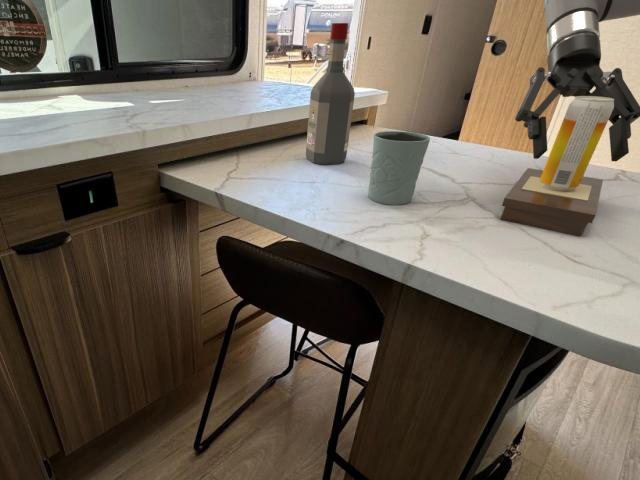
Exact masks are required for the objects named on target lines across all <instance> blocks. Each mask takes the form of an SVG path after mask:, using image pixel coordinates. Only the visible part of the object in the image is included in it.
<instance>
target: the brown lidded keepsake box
mask: <svg viewBox="0 0 640 480" xmlns="http://www.w3.org/2000/svg"><path fill="white" fill-rule="evenodd" d="M543 170H544V169H536V168H529V167H527V168H526V169H525V171H524V172H523V173H522V174H521V176H520V177H519V179H518V180H517V181H516V182H515V184H514V185H513V186H512V187H511V189H510V190H509V191H508V193H507V194H506V195H505V197H504V198H503V201H502V203H501V207H504V209H503V210H502V214H501V216H500V220H504V221H507V222H511V223H518V224H522V225H526V226H531V227H535V228H541V229H545V230H548V231H549V230H550V231H554V232H558V233H563V234H568V235H573V236H578V237H582V235H583V233H584V231H585V229H586V227H587V226H588V224H593V222H594V220H595V217H596V215H597V210H598V207H599V200H600V197H601V192H602V187H603V182H604V179H602V178H596V177H590V176H584V175H583V177H582V180H581V182H580V184H579V186H578V187H576V188H574V189H573V190H572V191H556V190H551V189H547V188H545V187H543V186H541V182H540V178H541V175H542V173H543Z"/></svg>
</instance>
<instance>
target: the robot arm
mask: <svg viewBox="0 0 640 480" xmlns="http://www.w3.org/2000/svg"><path fill="white" fill-rule="evenodd" d="M543 12H544V19H545V32H546V51H547V52H546V53H547V61H546V62H547V71H546V69H545V68H544V67H542V66H540V67H538V68H537V69H536V70H535V72H534V73H533V74H532V76H530V78H529V88H528V90H527V92H526V94H525V96H524V99H523V100H522V103H521V105H520V106H519V109H518V111H517V113H516V115H515V118H514V120H515V121H516V122H518V123H519V122H524V123H523V127H524V128H526V129H527V138H528V140H532V153H533V159H534V160H535V159H536V160H539V159H540V158H541V157H542V156H543V155H544V154H545V153H546V152H547V151H548V133H547V131H548V129H547V116H541V115H542V114H543V113H544V112H545V111H546V109H548V107H549V106H550V105H551V104H552V103H553V101H555V99H556V98H557V97H558V96H559V95H560V96H562V98H569V97H574V98H575V97H576V96H597V97H607V98H612V99H614V109H613V111H612V113H611V115H610V117H609V120H608V122H610V123H611V124H612V125H611V126H609V127H608V132H609V134H608V135H609V146H610V158H611V159H610V160H611V162H618V161H619V160H621V159H622V158H623V157H625V156H626V155H628V154H630V149H629V139H630V138H631V137H632V127H631V125H632V123H634V122H635V121H636V120H638V119H639V118H640V104H639V102H638V101H637V99H636V98H635V96H634V94H633V93H632V91H631V90H630V88H629V87H628V85H627V83H626V82H625V80H624V78H623V76H624V75H623V71H622V69H621V68H620V67H616V68H614V69H613V70H612V71H603V69H602V68H601V66H600V65H601V61H602V60H601V59H602V48H601V40H600V38H601V32H600V23H601V22H606V21H612V20H618V19H624V18H625V19H626V18H630V17H635V16H640V0H544V7H543ZM546 81H547V83H548V84H549V85H550V86H551V87H552V88H553V89H552V90H551V92H550V93H549V94H548V95H547V96H546V97H545V99H543V101H542V102H541V103H540V104H539V105H538V107H537V108H535V110H534V111H533V110H531V109H532V107H533V106H534V104H535V101H536V99H537V97H538V94H539V93H540V90H541V88H542V86H543V85H544V84H545V82H546ZM594 88H595V89H594ZM592 90H593V91H592ZM591 91H592V92H591Z"/></svg>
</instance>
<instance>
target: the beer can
mask: <svg viewBox="0 0 640 480" xmlns="http://www.w3.org/2000/svg"><path fill="white" fill-rule="evenodd" d="M613 109H614V99H612V98H607V97H597V96H576V97H574V98H573V100H572V101H571V102H570V103H569V104H568V107H567V109H566V112H565V114H564V117H563V120H562V121H561V125H560V127H559V130H558V131H557V134H556V137H555V140H554V142H553V145H552V147H551V150H550V152H549V154H548V158H547V160H546V163H545V165H544V168H543V169H542V170H543V173H542V175H541V178H540V182H541V186H543V187H545V188H547V189H551V190H556V191H572V190H573V189H574V188H576V187H578V186H579V184H580V182H581V180H582V177H583V176H584V175H585V173H586V171H587V169H588V166H589V164H590V163H591V160H592V157H593V155H594V153H595V151H596V148H597V146H598V145H599V142H600V139H601V137H602V135H603V133H604V131H605V129H606V126H607V124H608V122H609V117H610V115H611V113H612V111H613Z"/></svg>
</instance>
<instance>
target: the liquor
mask: <svg viewBox="0 0 640 480" xmlns="http://www.w3.org/2000/svg"><path fill="white" fill-rule="evenodd" d="M348 31H349V23H348V22H332V23H331V28H330V35H329V39H330V44H329V52H328V53H329V54H328V60H327V61H328V63H327V67H326V71H325V72H324V73H323V75H322V76H321V77H320V78H319V79H318V80H317V82H316V83H315V84H314V85H313V86H312V88H311V91H310V97H309V107H308V109H309V111H308V121H307V132H306V133H307V134H306V145H305V157H306V160H308V161H310V162H311V163H313V164H315V165H320V166H321V165H323V166H326V165H340V164H342V163H344V162H345V160H346V159H347V155H348V147H349V141H350V132H351V125H352V118H353V111H354V110H353V109H354V102H355V96H356V95H355V94H356V93H355V87H354V86H353V85H352V83H351V82H350V80H349V79H348V77H347V75H346V74H345V67H344V59H345V52H346V51H345V50H346V40H347V39H348Z"/></svg>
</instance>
